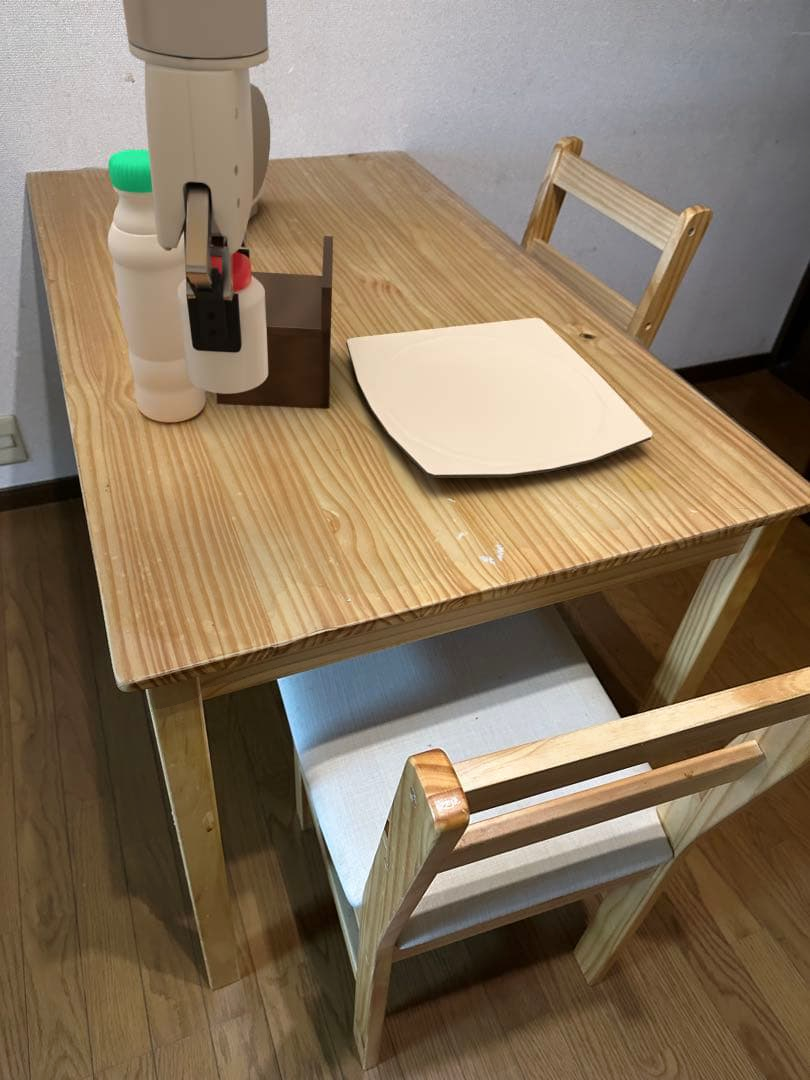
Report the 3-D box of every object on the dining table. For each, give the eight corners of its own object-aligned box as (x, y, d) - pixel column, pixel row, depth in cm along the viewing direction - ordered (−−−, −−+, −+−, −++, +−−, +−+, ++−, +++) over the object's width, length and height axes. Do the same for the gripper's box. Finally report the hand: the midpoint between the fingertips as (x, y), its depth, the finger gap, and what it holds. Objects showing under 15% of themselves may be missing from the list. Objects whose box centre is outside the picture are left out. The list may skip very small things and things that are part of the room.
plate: (330, 354, 92) (331, 334, 90) (539, 330, 101) (543, 311, 99) (418, 507, 73) (421, 486, 71) (664, 461, 82) (672, 441, 80)
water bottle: (139, 388, 83) (96, 140, 66) (206, 386, 84) (180, 143, 67) (135, 426, 78) (86, 169, 61) (206, 424, 79) (178, 172, 62)
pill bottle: (278, 387, 56) (274, 277, 50) (196, 399, 54) (183, 286, 48) (256, 346, 59) (250, 240, 54) (179, 356, 57) (165, 247, 52)
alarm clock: (227, 195, 124) (217, 51, 110) (276, 205, 123) (273, 61, 109) (174, 236, 111) (155, 79, 97) (228, 248, 110) (217, 90, 96)
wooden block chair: (217, 403, 82) (205, 279, 73) (228, 346, 91) (219, 228, 81) (329, 408, 83) (332, 287, 74) (330, 351, 92) (333, 236, 82)
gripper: (157, -13, 47) (189, 267, 60) (85, 55, 35) (145, 390, 47) (279, -1, 48) (286, 273, 61) (251, 69, 36) (267, 396, 48)
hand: (223, 322), depth 54 cm, fingers closed on pill bottle, 5 cm apart
